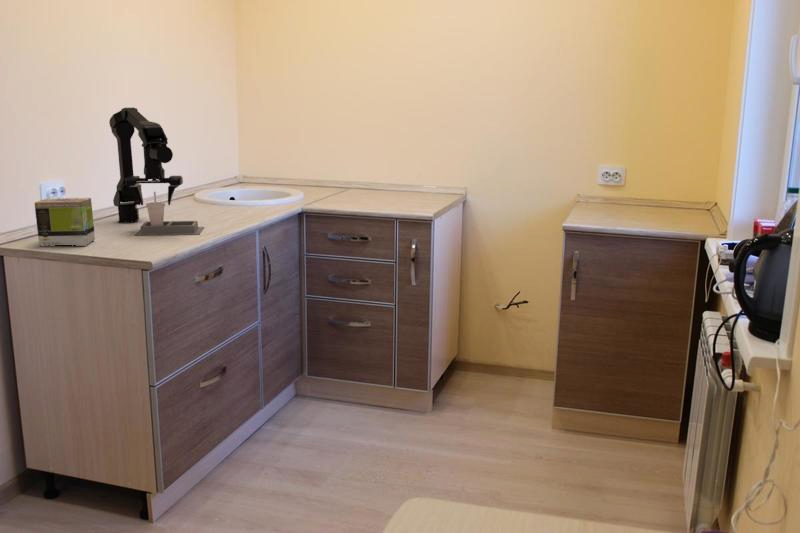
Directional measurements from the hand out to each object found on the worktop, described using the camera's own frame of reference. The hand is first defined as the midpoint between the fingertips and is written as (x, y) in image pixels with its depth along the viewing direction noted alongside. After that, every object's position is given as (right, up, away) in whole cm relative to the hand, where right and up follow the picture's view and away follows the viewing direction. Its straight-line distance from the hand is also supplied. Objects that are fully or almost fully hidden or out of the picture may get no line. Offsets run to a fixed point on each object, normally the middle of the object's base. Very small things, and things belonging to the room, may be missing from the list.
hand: (155, 205), depth 278 cm
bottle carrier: (+4, -9, +3) cm, 11 cm away
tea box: (-23, -14, -18) cm, 33 cm away
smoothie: (0, -9, +2) cm, 9 cm away
